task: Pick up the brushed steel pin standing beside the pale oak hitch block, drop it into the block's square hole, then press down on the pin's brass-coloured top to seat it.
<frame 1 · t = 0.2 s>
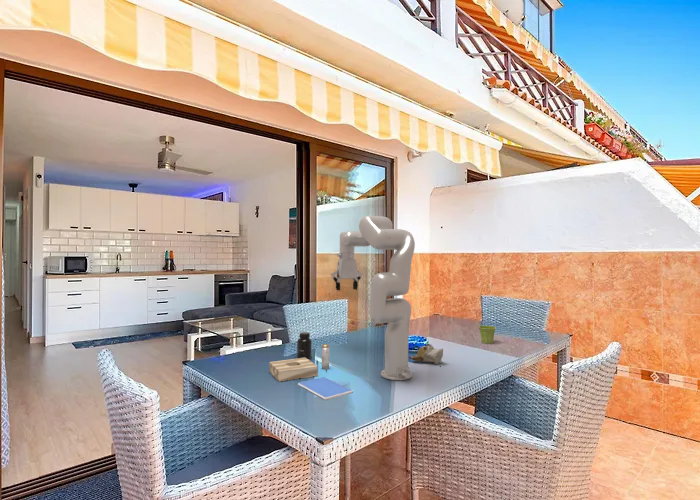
hand: (346, 289, 197), 31 cm above the table, fingers open, 9 cm apart
supplement bottle: (304, 359, 182), on the table
plant pot: (487, 343, 216), on the table
tablet computer: (324, 390, 143), on the table
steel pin: (325, 368, 167), on the table
ceramic sculpture: (427, 362, 178), on the table
hitch block: (293, 373, 159), on the table
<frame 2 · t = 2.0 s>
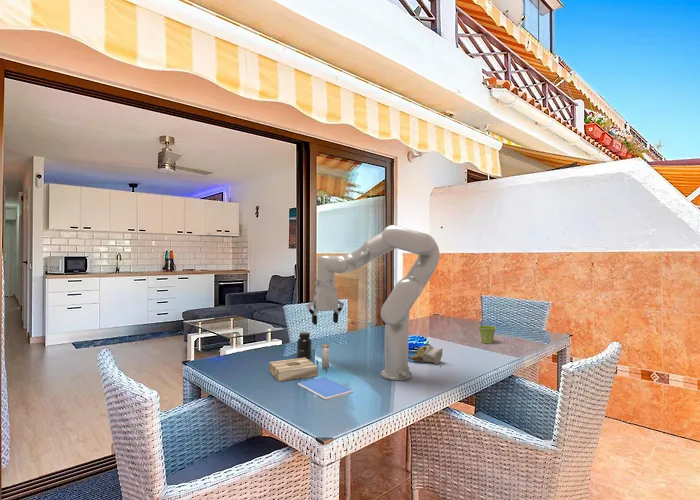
hand: (325, 323, 167), 19 cm above the table, fingers open, 9 cm apart
nothing on the table moved.
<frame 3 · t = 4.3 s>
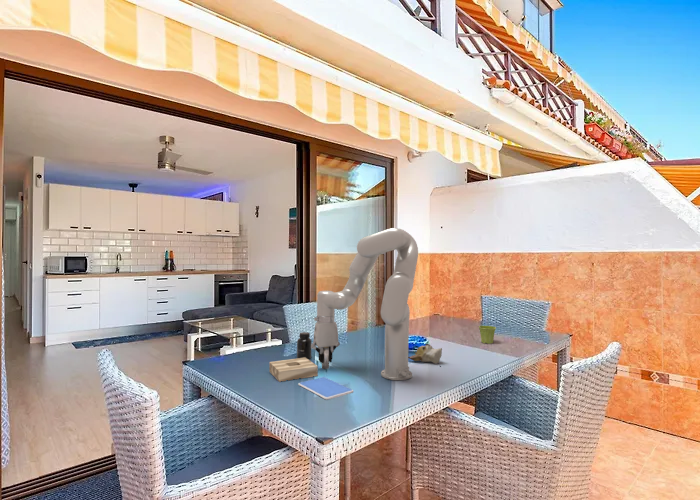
hand: (325, 361, 167), 3 cm above the table, fingers closed on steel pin, 3 cm apart
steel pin: (325, 368, 167), on the table, touching gripper
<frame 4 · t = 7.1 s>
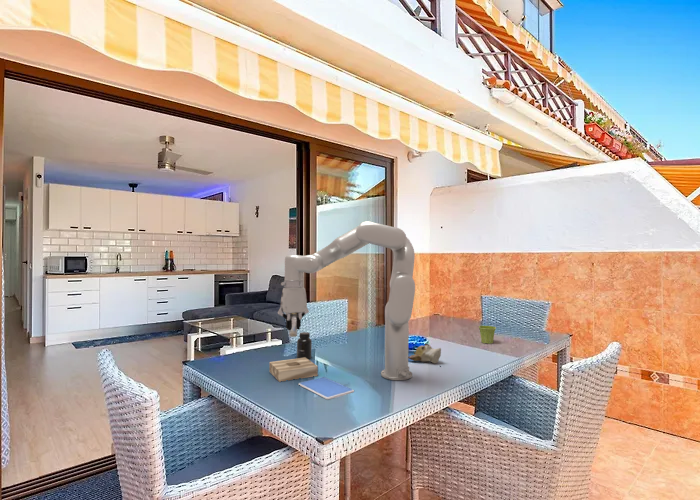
hand: (293, 328, 159), 19 cm above the table, fingers closed on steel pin, 3 cm apart
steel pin: (293, 335, 159), point 16 cm above the table, touching gripper
when the fingers open (5 cm above the table, at t = 10.1 s): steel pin drops 2 cm, resting in hitch block.
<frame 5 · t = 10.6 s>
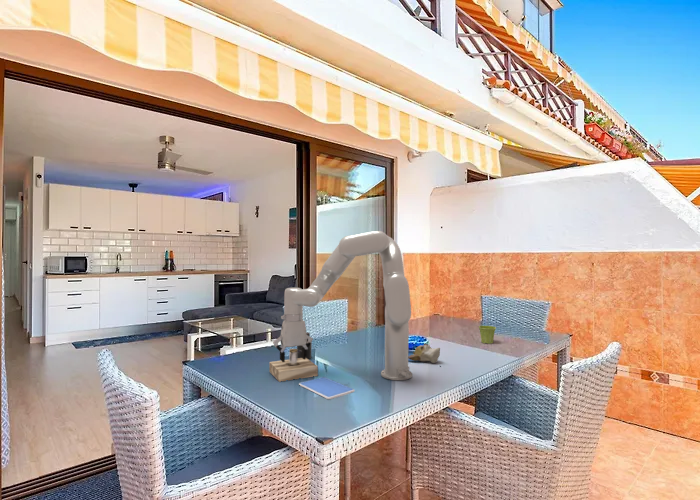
hand: (293, 359, 159), 6 cm above the table, fingers open, 8 cm apart
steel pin: (293, 373, 159), resting in hitch block
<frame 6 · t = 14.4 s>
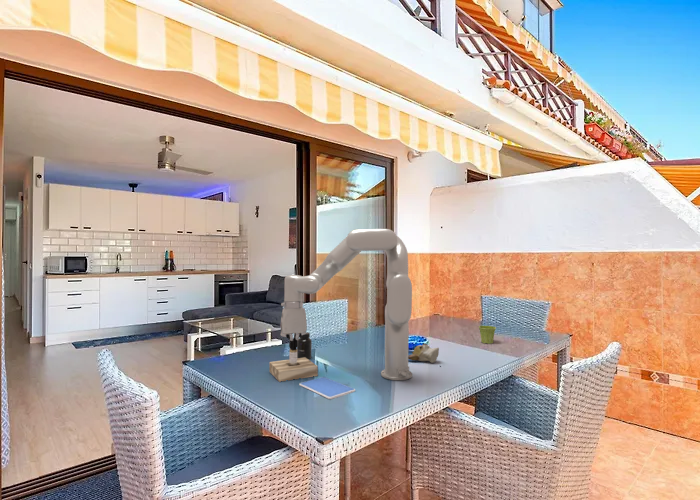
hand: (293, 349, 159), 10 cm above the table, fingers closed
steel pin: (293, 373, 159), resting in hitch block, touching gripper
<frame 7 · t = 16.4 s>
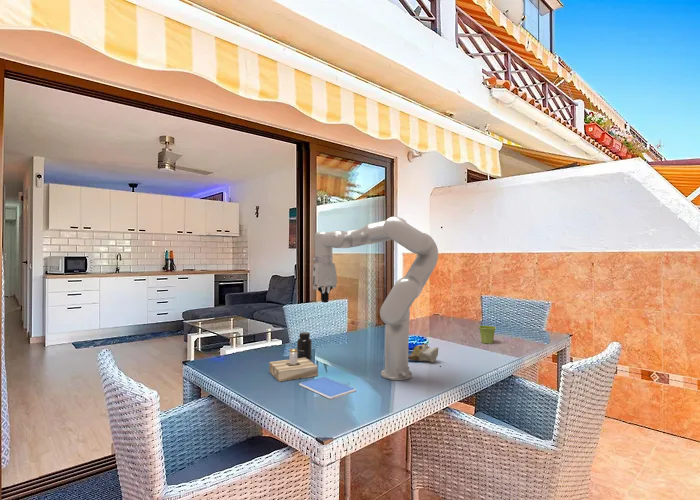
hand: (324, 302, 168), 28 cm above the table, fingers closed
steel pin: (293, 373, 159), resting in hitch block
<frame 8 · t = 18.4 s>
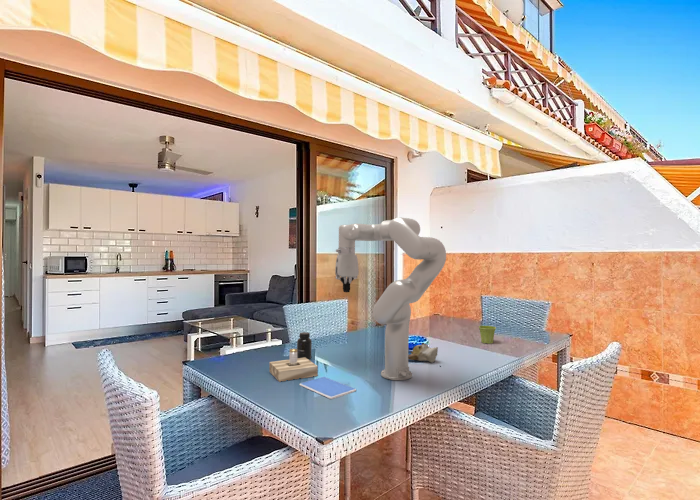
hand: (346, 291, 176), 32 cm above the table, fingers closed
at the end: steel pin 0.1 cm off-centre on the hitch block, point 0.0 cm above the hitch block's base; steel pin tilted 0°; the gripper is holding nothing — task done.
